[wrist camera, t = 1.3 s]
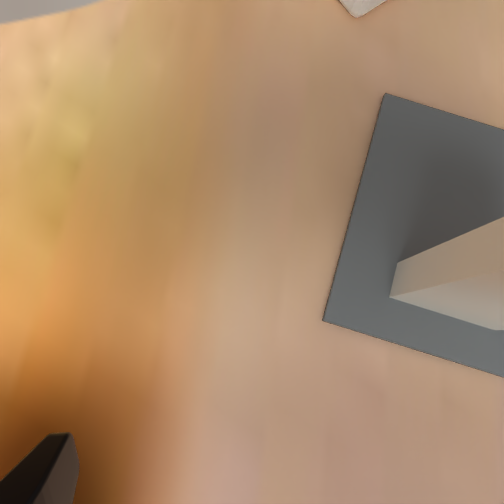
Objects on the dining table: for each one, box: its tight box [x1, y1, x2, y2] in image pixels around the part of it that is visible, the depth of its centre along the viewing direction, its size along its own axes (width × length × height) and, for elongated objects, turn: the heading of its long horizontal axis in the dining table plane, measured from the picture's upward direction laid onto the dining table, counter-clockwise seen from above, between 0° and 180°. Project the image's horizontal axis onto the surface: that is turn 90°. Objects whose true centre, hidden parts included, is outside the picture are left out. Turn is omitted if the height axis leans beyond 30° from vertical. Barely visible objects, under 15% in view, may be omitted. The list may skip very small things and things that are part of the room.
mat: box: [322, 93, 504, 377], centre depth 25 cm, size 14×12×1 cm
